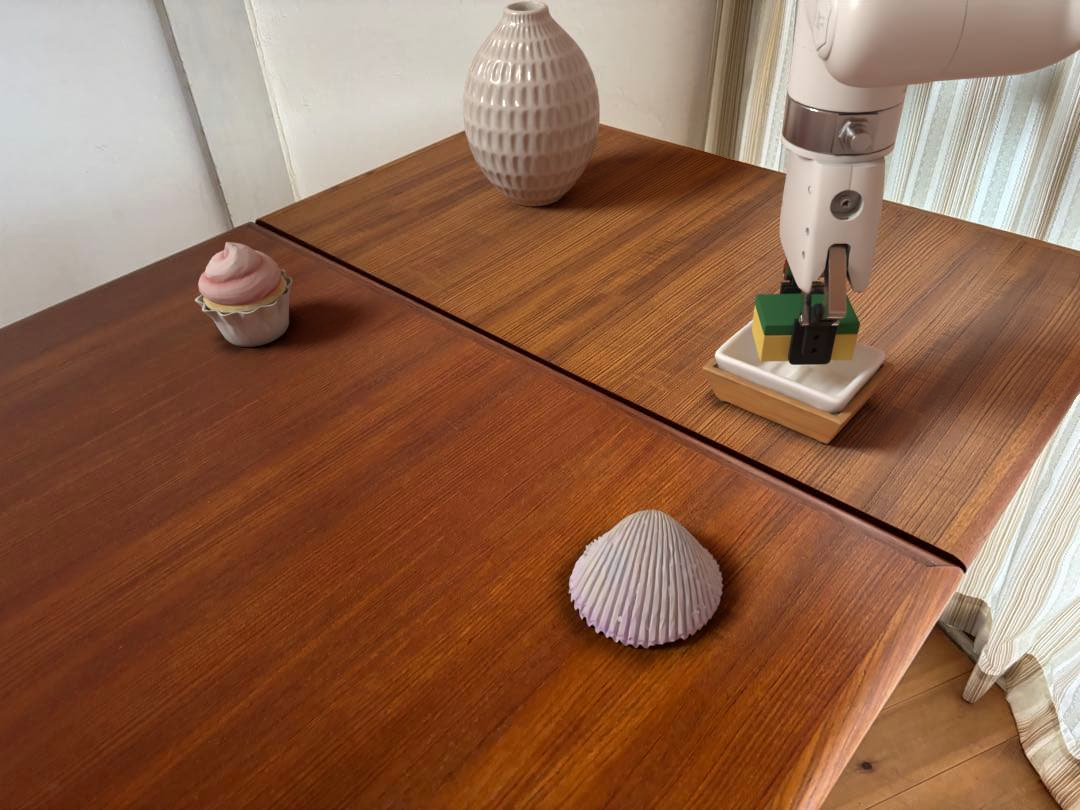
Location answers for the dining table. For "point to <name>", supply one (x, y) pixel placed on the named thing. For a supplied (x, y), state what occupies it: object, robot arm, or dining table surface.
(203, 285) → the cupcake
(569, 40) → the vase
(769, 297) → the scrub sponge
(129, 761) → the dining table surface
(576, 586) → the seashell
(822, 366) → the soap dish
